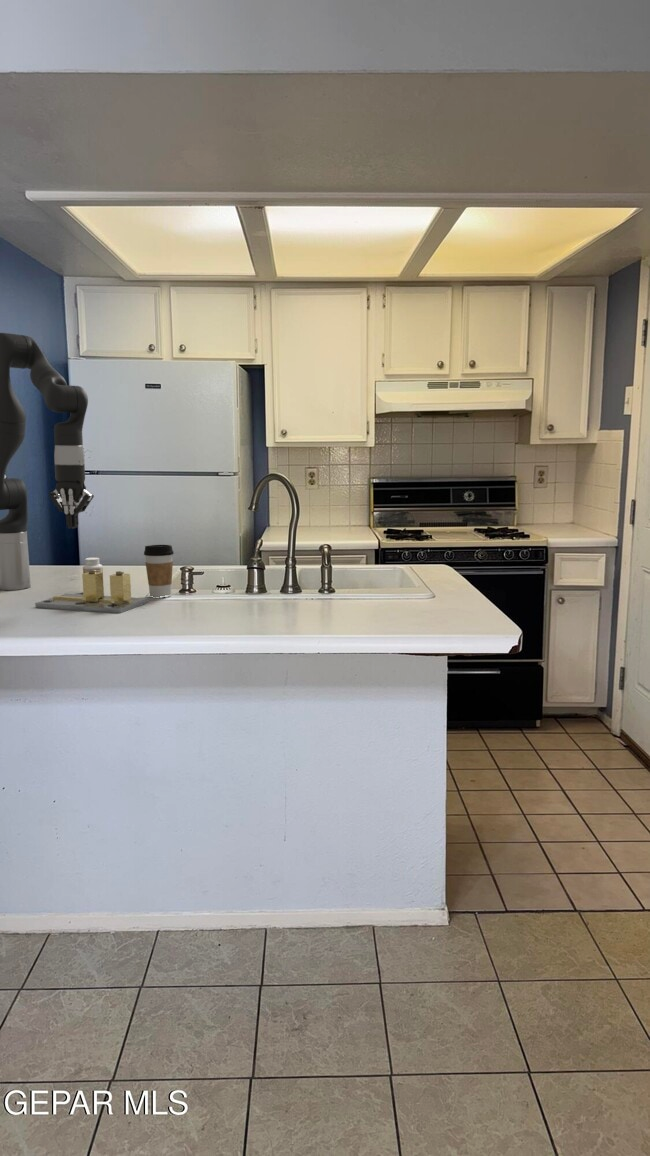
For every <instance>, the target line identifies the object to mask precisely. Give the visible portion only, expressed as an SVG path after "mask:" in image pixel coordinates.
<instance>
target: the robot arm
mask: <svg viewBox="0 0 650 1156" xmlns="http://www.w3.org/2000/svg"><path fill="white" fill-rule="evenodd" d="M11 368H12V369H22V370H24V369H29V370H30V373H29V374H30V375H29V376H30V380H31V382H32V384H33V386H34V387H35V388H36V389H37V391H39V392H40V393H41V394H42V397H43V399H44V403H45V405H46V407H47V408H48V410H49V411H51V412H54V413H62V414H64V413H65V414H69V417H68V419H67V420H66V421H62V422H57V423H55V424H54V426H53V427H54V428H53V434H54V435H53V436H54V439H53V440H54V453H53V454H54V455H53V457H54V458H53V459H54V475H55V476H54V478H55V481H56V485H55V489H54V490H53V491H52V492H48V496H49V498H50V500H51V501H52V502H53V504H54V505H55V507H56V508H57V510H58V511H59V512H61V513H64V514H65V524H66V527H67V528H68V529H76V528H78V526H79V514H80V513H84V512H85V511H86V510H87V508H88V506H89V505H90V503H91V502H92V500H93V499H94V497H95V496H94V493H90V492H89V491H88V490H87V486H86V485H85V481H86V467H85V465H86V464H85V452H84V446H83V444H84V443H83V428H84V423H85V417H86V413H87V410H88V404H89V398H88V397H89V396H88V394H87V391H86V390H85V389H84V388H83V387H81V386H79V385H68V384H67V381H66V379H65V378H64V377H63V375H61V374H60V373H59V372H58V371H57V370H56V369H55V368H54V367H53V366H52V365H51V364H50V362H49V361H48V359H47V358H46V355H45V354H44V352H43V351H42V349H41V348H40V346H39V344H38V343H37V342H36V340H35V339H33V338H32V337H30V336H29V335H23V334H18V333H17V334H16V333H8V332H0V511H5V510H8V513H7V515H6V516H5V517H3V518H2V519H0V590H4V591H5V590H6V591H15V590H25V589H27V588H31V573H30V572H31V571H30V559H29V558H30V557H29V545H28V543H29V542H28V531H27V526H28V522H29V521H28V520H29V519H28V518H29V517H28V514H29V513H28V492H27V487H26V484H25V482H24V481H23V480H22V479H20V478H5V476H6V472H7V467H8V466H9V463H10V461H11V460H12V458H13V457H14V455H15V454H16V453H17V451H18V449H19V448H20V447H21V445H22V444H23V442H24V440H25V436H26V424H27V416H26V411H25V409H24V408H23V405H22V403H21V402H20V399H19V398H18V396H17V394H16V392H15V391H14V388H13V386H12V382H11V381H12V380H11V375H10V373H11V372H10V369H11Z"/></svg>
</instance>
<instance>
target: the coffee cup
mask: <svg viewBox="0 0 650 1156" xmlns="http://www.w3.org/2000/svg"><path fill="white" fill-rule="evenodd" d="M174 554H175V553H174V549H173V547H172V545H171V544H151V545H150V544H149V545H145V546H144V552H143V556H145V563H144V564H145V567H146V569H145V570H146V575H147V576H146V577H147V582H148V591H149V596H153V597H160V596H165V595H170V594H171V595H172V583H173V581H172V580H173V565H174V561H173V555H174Z"/></svg>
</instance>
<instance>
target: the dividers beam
mask: <svg viewBox="0 0 650 1156" xmlns="http://www.w3.org/2000/svg"><path fill="white" fill-rule="evenodd" d="M124 572H125V571H123V570H122V571H121V570H119V571H117V570H116V571H115V573H114V574H110V575H109V587H110V588H109V591H110V596H111V598H110V599H102V598H98V601H94V602H110V603H111V605H115V603H126V604H130V603H133V600H127V599H130V598H131V597H132V591H131V590H132V589H131V587H132V585H131V573H124ZM52 598H53V599H63V600H78V601H84V600H82V597H70V596H60V595H54V596H52Z"/></svg>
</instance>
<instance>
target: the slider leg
mask: <svg viewBox="0 0 650 1156" xmlns="http://www.w3.org/2000/svg"><path fill="white" fill-rule="evenodd" d="M81 576H82V591H83V593H82V594H83V597H82V600H84V602H87V601H98V598H102V599H104V596H105V589H104V587H103V586H104V572H103V573H101V572H96V570H89V572H88V573H84V574H83V573H82V575H81Z"/></svg>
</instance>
